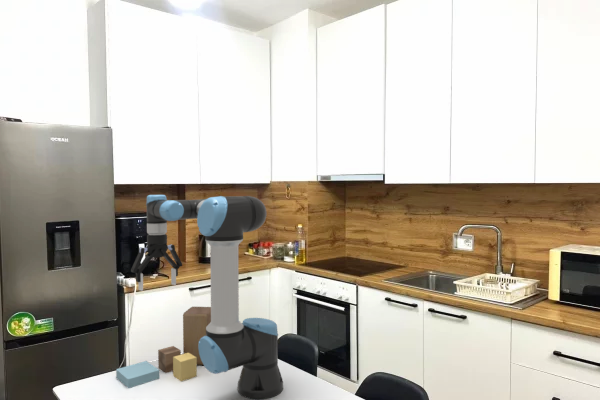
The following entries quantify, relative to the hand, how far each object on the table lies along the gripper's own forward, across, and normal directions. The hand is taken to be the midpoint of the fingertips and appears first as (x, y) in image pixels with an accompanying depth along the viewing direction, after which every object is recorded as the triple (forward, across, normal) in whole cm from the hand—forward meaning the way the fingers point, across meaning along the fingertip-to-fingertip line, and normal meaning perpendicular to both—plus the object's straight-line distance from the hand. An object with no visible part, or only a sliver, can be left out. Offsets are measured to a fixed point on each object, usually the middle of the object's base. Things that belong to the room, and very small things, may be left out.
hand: (157, 287), depth 172 cm
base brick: (+28, +14, +13) cm, 34 cm away
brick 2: (+28, +1, +23) cm, 36 cm away
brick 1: (+28, +2, +13) cm, 31 cm away
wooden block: (+28, -10, +14) cm, 33 cm away
